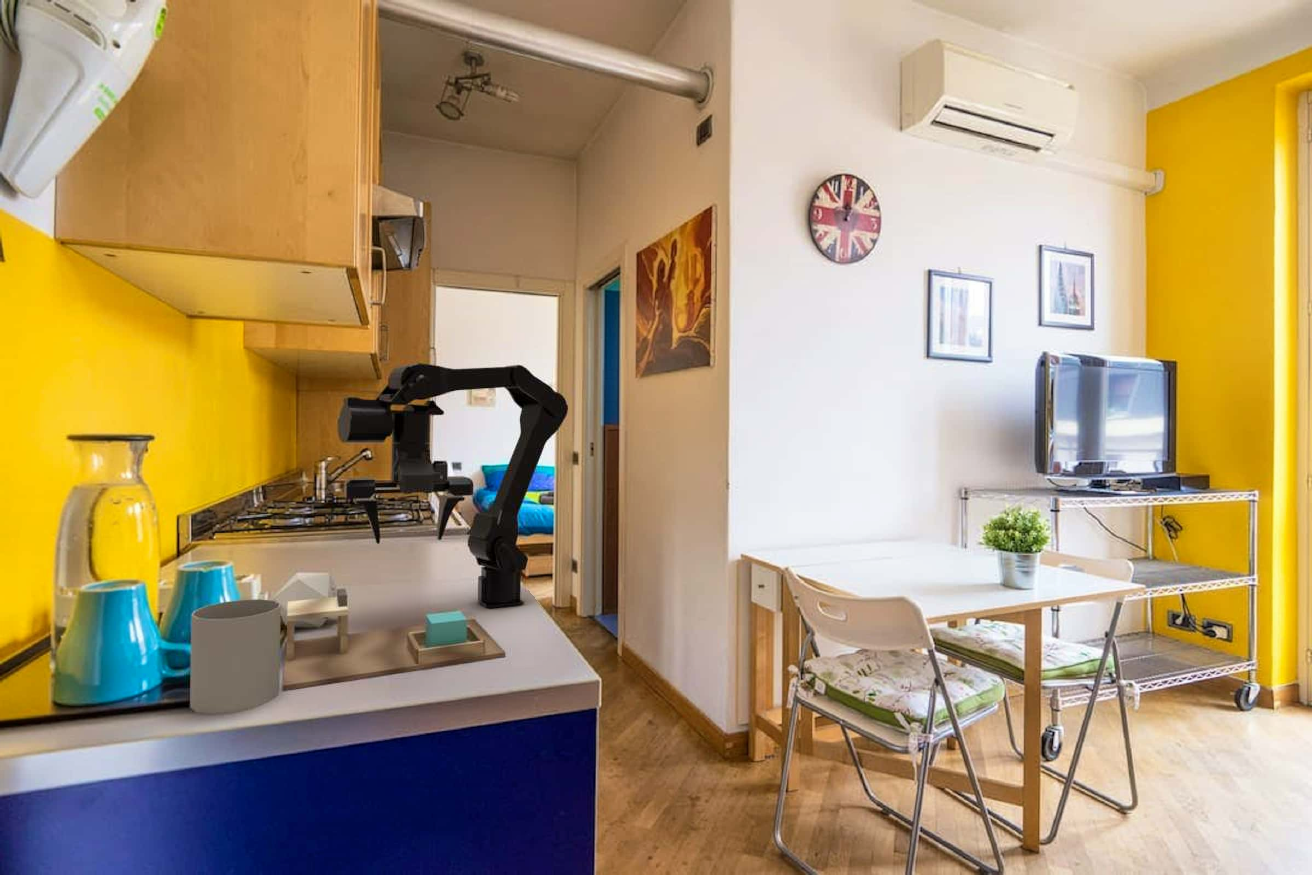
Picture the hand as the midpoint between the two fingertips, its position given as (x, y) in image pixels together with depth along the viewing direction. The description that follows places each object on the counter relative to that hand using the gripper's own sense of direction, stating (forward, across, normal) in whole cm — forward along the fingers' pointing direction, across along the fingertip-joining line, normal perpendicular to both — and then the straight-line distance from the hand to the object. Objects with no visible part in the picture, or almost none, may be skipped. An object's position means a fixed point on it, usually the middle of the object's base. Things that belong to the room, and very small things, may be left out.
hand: (409, 541), depth 103 cm
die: (+13, -14, +4) cm, 19 cm away
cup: (+13, -22, -23) cm, 34 cm away
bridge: (+12, -13, -10) cm, 21 cm away
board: (+12, -4, -14) cm, 20 cm away
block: (+12, +2, -19) cm, 22 cm away
